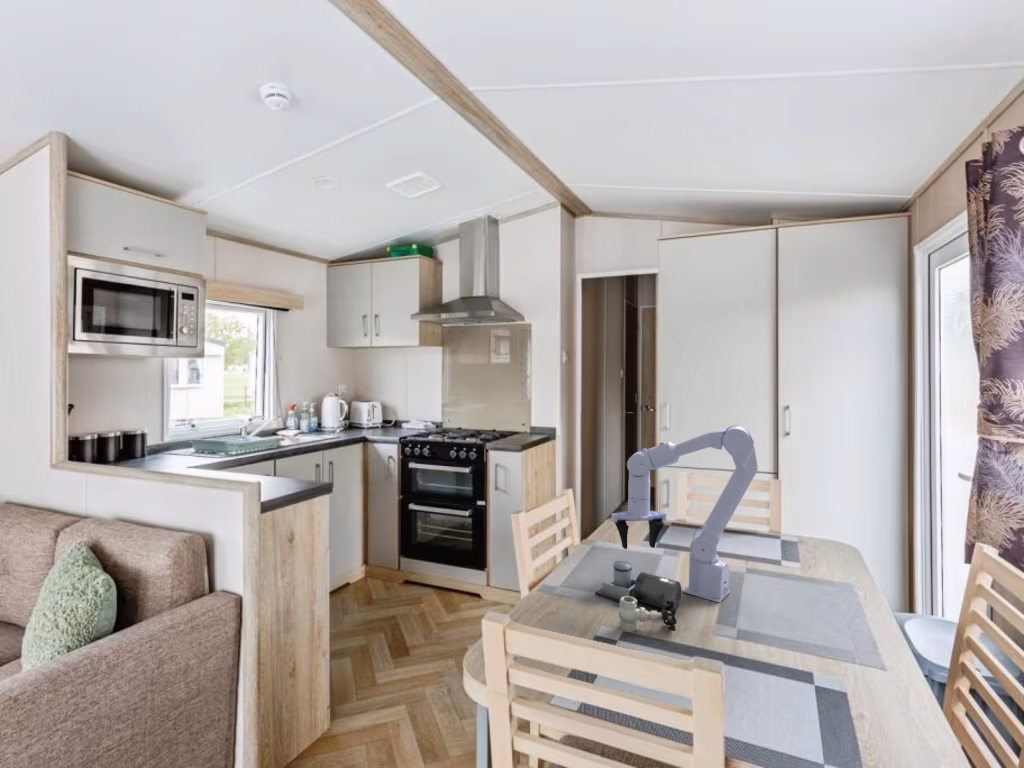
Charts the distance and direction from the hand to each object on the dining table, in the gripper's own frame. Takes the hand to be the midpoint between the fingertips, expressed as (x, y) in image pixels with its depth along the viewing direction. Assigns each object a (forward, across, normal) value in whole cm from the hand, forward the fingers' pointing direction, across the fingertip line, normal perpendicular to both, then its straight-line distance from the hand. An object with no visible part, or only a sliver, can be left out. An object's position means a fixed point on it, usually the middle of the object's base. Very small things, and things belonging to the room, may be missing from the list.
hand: (638, 547), depth 148 cm
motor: (+9, -4, -11) cm, 15 cm away
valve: (+10, -7, -25) cm, 28 cm away
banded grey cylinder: (+9, -7, -7) cm, 13 cm away
